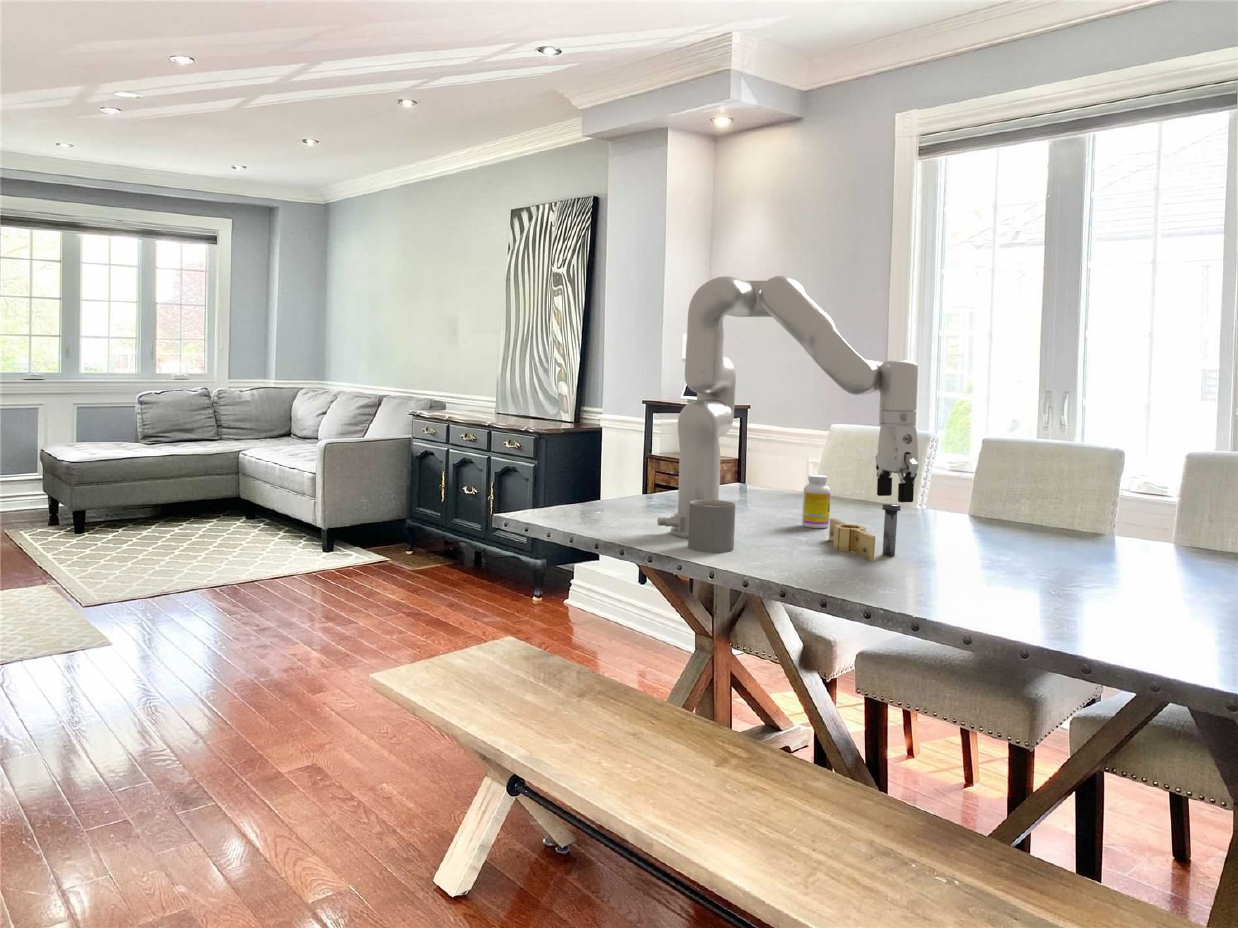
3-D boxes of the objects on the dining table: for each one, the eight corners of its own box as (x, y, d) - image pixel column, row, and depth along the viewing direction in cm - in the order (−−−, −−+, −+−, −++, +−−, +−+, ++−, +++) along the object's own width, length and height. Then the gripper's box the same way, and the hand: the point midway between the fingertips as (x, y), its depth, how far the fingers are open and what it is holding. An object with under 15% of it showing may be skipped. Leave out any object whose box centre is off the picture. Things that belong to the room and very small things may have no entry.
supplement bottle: (831, 529, 231) (834, 477, 229) (804, 528, 231) (807, 477, 229) (825, 524, 237) (828, 474, 236) (799, 523, 237) (802, 473, 236)
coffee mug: (723, 554, 197) (725, 508, 196) (680, 549, 202) (682, 503, 201) (745, 544, 209) (747, 500, 208) (704, 539, 214) (705, 496, 213)
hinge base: (857, 560, 195) (858, 536, 195) (829, 545, 210) (830, 524, 209) (885, 559, 197) (886, 536, 196) (856, 545, 211) (857, 523, 210)
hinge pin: (884, 557, 199) (887, 506, 198) (876, 553, 203) (879, 503, 201) (900, 556, 200) (904, 506, 198) (892, 553, 203) (895, 503, 202)
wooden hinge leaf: (846, 545, 211) (847, 523, 210) (839, 545, 210) (840, 523, 210) (834, 539, 217) (835, 518, 217) (828, 539, 217) (829, 518, 217)
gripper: (934, 421, 190) (931, 504, 192) (895, 416, 207) (892, 493, 209) (900, 421, 189) (897, 505, 190) (863, 416, 206) (860, 493, 207)
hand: (894, 498), depth 200 cm, fingers open, 9 cm apart
